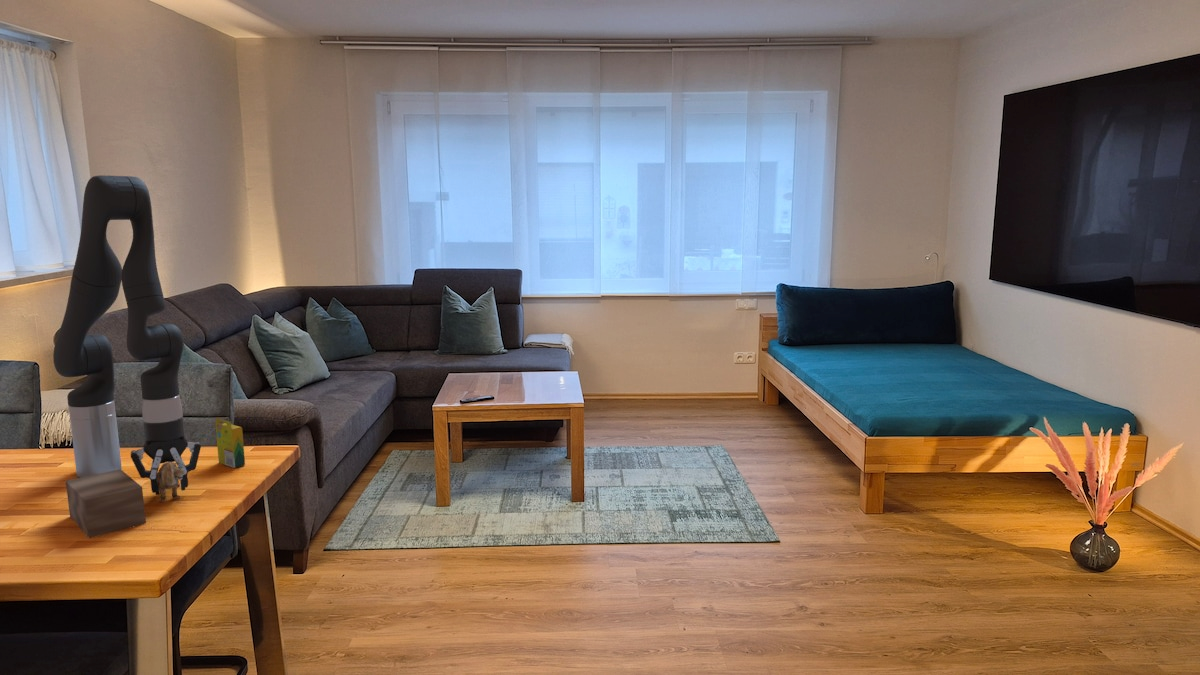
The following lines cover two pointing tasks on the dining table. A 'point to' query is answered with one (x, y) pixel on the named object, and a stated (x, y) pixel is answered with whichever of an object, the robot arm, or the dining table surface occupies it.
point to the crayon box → (229, 444)
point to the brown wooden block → (105, 503)
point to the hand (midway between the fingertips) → (170, 491)
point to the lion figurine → (169, 479)
